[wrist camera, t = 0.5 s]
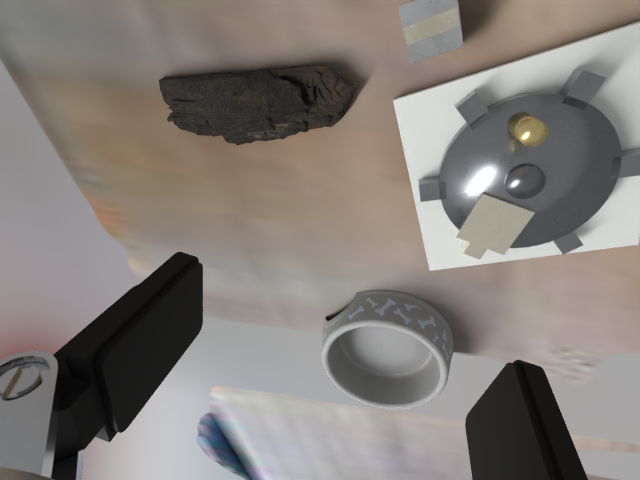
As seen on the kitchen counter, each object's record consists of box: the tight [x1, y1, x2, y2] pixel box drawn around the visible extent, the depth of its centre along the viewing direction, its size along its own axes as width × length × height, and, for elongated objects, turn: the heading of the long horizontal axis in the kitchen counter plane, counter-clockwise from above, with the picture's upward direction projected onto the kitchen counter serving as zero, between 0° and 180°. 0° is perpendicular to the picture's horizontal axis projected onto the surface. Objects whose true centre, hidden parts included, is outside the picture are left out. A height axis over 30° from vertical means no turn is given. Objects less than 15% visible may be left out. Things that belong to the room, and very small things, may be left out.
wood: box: [159, 66, 357, 145], centre depth 34 cm, size 22×7×3 cm, turn 95°
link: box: [399, 0, 463, 65], centre depth 26 cm, size 4×4×4 cm
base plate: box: [393, 21, 640, 271], centre depth 31 cm, size 19×19×1 cm
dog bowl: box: [322, 290, 454, 409], centre depth 45 cm, size 17×18×5 cm
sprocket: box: [419, 69, 640, 260], centre depth 28 cm, size 18×17×6 cm
